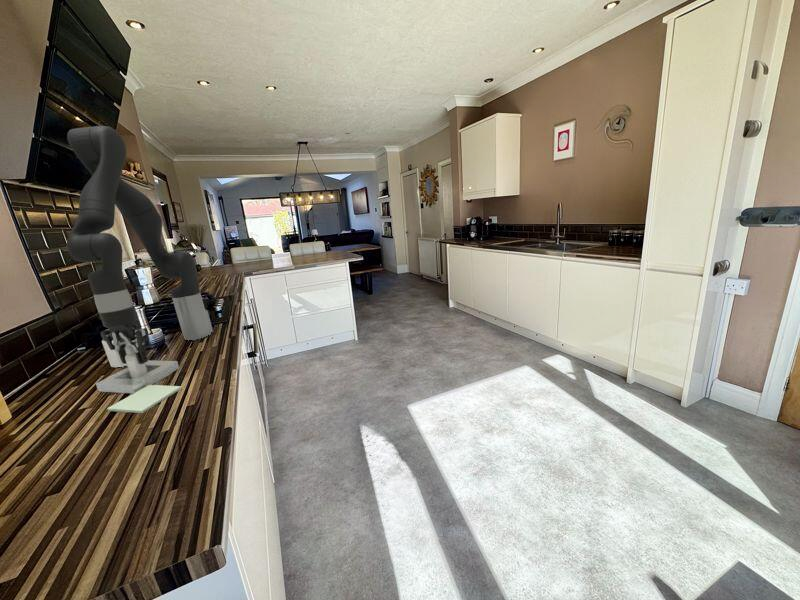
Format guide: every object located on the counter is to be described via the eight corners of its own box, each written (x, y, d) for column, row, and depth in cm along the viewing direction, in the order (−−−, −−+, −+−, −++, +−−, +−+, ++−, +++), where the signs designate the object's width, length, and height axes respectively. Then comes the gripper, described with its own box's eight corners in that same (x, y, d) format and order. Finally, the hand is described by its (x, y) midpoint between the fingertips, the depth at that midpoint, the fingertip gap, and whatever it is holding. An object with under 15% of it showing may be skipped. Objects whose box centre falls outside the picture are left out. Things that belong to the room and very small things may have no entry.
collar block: (145, 367, 103) (143, 360, 102) (180, 368, 100) (178, 361, 99) (97, 391, 90) (94, 383, 89) (136, 393, 87) (133, 385, 86)
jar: (112, 371, 103) (99, 336, 99) (110, 363, 108) (98, 330, 105) (146, 360, 108) (135, 327, 105) (143, 354, 114) (132, 322, 111)
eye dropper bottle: (130, 385, 91) (116, 347, 88) (133, 378, 96) (120, 341, 93) (149, 380, 94) (136, 342, 90) (151, 373, 98) (139, 337, 95)
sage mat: (149, 386, 90) (149, 384, 90) (181, 388, 87) (181, 386, 87) (107, 410, 79) (106, 408, 79) (142, 413, 77) (141, 411, 77)
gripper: (149, 302, 90) (166, 357, 95) (110, 303, 94) (129, 356, 98) (122, 311, 83) (142, 369, 88) (81, 312, 87) (102, 368, 91)
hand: (135, 362), depth 93 cm, fingers closed on eye dropper bottle, 5 cm apart
